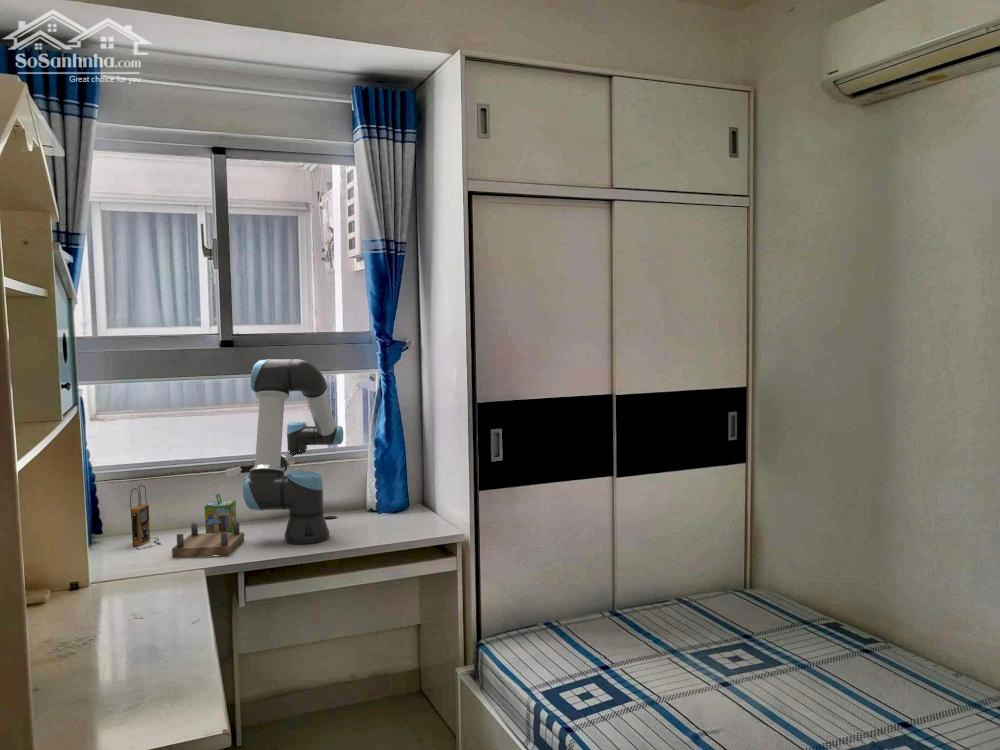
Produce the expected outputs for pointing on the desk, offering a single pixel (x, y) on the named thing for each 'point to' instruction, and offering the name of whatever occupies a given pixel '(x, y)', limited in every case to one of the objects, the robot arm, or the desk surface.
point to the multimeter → (140, 522)
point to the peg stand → (207, 543)
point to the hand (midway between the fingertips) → (240, 474)
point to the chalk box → (220, 516)
